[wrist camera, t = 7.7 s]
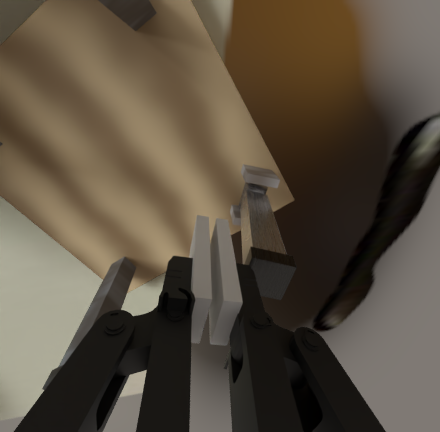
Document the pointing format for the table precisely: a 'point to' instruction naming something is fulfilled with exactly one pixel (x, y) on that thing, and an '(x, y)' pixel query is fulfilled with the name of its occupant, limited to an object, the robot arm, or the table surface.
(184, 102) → the stool top
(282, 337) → the robot arm
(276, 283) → the hinged leg
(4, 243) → the table surface
